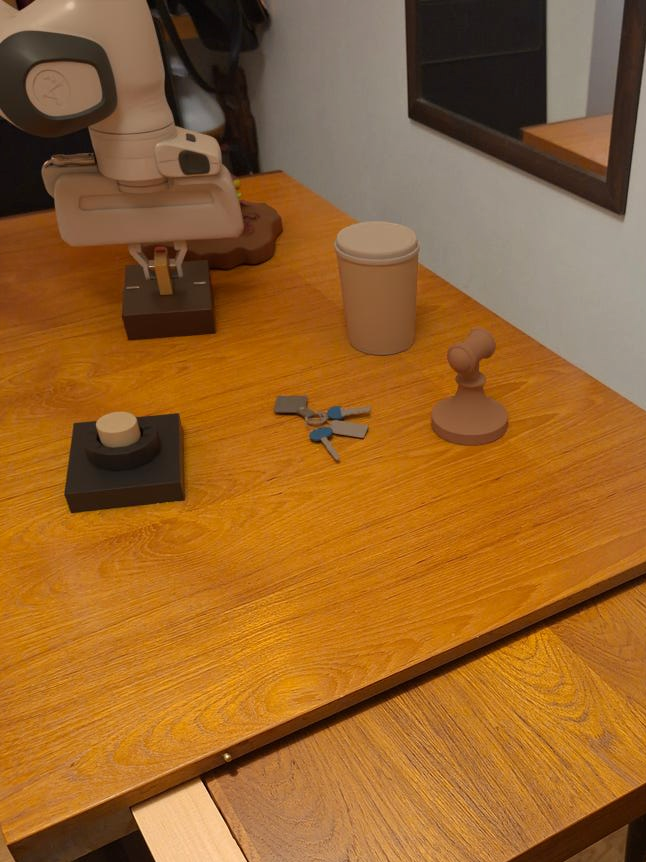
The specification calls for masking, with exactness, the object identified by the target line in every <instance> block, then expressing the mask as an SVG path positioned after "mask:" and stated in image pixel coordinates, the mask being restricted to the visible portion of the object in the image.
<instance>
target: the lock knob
mask: <svg viewBox="0 0 646 862" xmlns="http://www.w3.org/2000/svg"><path fill="white" fill-rule="evenodd" d="M168 259H169V257H168V252H167V248H165V247H155V252H154V268H155V272H156V277H157V281H158V286H159V290H160V295H169V294H173V279H171V277H170V271H169V267H168Z"/></svg>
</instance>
